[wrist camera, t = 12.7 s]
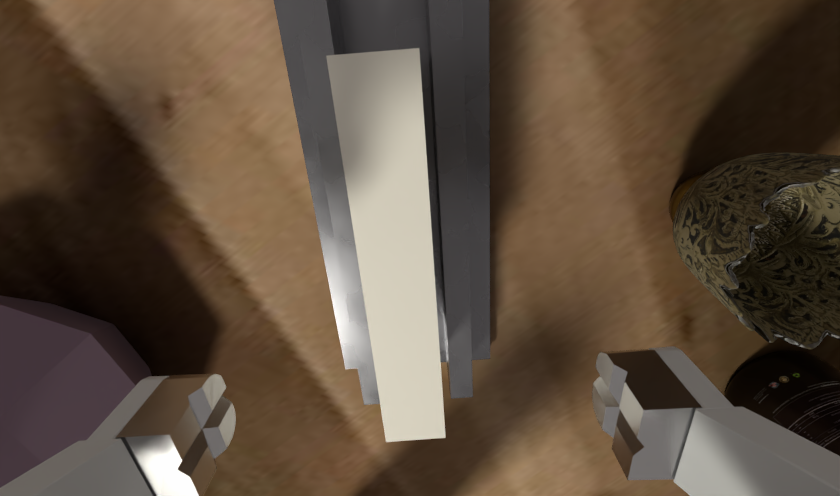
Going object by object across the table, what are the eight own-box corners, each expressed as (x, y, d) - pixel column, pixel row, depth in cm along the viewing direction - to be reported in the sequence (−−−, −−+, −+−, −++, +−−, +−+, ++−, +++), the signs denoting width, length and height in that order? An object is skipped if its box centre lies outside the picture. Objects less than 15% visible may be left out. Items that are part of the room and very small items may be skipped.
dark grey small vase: (728, 96, 19) (923, 110, 12) (791, 198, 21) (989, 263, 14) (601, 200, 21) (701, 267, 14) (671, 283, 23) (788, 379, 16)
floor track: (279, -6, 17) (243, -28, 13) (484, -23, 17) (505, -50, 13) (347, 358, 25) (337, 406, 22) (487, 348, 25) (500, 395, 21)
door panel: (362, 63, 17) (326, 55, 10) (416, 59, 17) (419, 47, 10) (394, 325, 23) (385, 442, 16) (434, 322, 23) (445, 437, 16)
